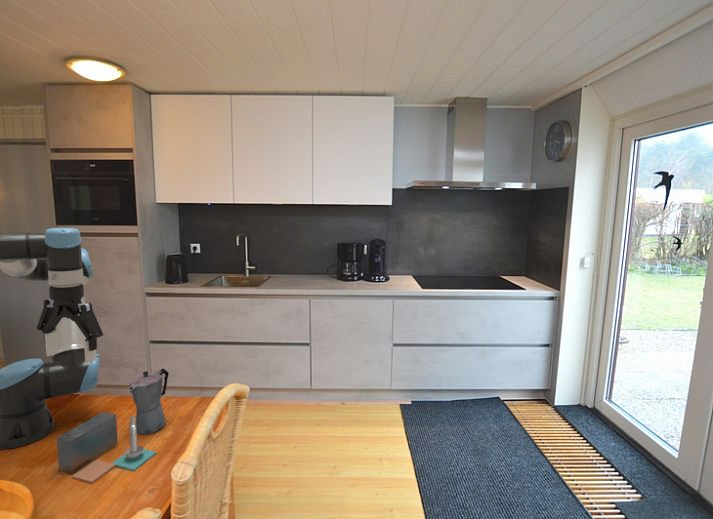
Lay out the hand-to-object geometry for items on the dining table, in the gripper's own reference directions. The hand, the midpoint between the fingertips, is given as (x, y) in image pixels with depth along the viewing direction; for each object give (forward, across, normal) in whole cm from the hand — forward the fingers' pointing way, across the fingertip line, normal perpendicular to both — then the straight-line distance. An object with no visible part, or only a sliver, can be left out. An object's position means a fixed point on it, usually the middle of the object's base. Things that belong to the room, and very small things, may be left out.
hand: (71, 357), depth 104 cm
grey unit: (+30, +4, 0) cm, 31 cm away
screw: (+30, +17, +3) cm, 34 cm away
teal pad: (+30, +17, +3) cm, 35 cm away
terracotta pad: (+30, +11, -4) cm, 32 cm away
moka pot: (+31, +9, +18) cm, 37 cm away
